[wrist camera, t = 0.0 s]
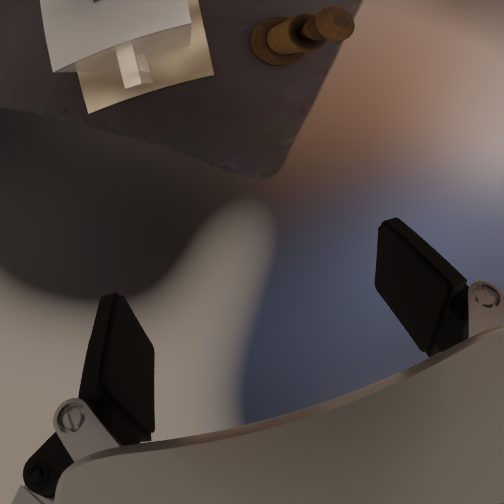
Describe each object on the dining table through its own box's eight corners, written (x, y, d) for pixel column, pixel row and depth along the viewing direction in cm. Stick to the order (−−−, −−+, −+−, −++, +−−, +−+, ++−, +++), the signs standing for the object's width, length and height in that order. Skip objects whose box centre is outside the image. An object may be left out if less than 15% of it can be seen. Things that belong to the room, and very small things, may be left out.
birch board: (64, -5, 22) (62, -7, 21) (187, -45, 23) (187, -48, 22) (90, 112, 32) (88, 113, 31) (213, 74, 33) (214, 74, 32)
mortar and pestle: (250, 65, 33) (301, 57, 18) (249, 18, 29) (298, -22, 14) (301, 66, 34) (380, 66, 19) (300, 21, 30) (378, -6, 15)
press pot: (86, -2, 22) (36, -34, 10) (174, -30, 23) (169, -83, 11) (108, 98, 31) (63, 112, 18) (196, 71, 31) (201, 66, 19)
